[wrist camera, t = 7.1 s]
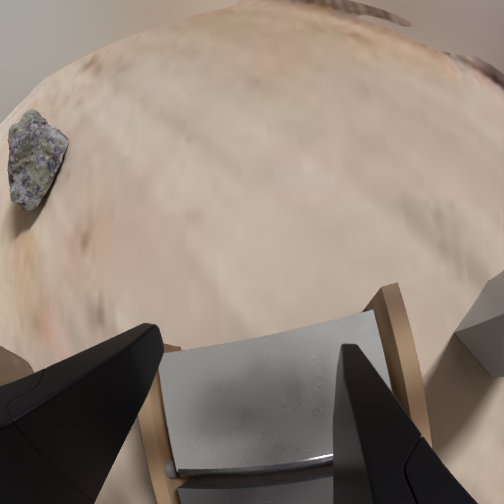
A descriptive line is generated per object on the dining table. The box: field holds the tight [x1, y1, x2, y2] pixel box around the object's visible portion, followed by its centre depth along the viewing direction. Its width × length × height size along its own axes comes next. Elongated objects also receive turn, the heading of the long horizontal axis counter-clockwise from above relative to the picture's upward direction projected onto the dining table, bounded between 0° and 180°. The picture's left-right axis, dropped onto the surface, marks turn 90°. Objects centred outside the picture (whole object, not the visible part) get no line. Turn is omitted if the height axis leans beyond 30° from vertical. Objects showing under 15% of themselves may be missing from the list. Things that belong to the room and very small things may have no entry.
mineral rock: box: [8, 109, 69, 211], centre depth 30 cm, size 13×11×10 cm
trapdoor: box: [159, 310, 392, 504], centre depth 14 cm, size 12×13×3 cm
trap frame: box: [138, 282, 432, 504], centre depth 15 cm, size 14×16×6 cm
